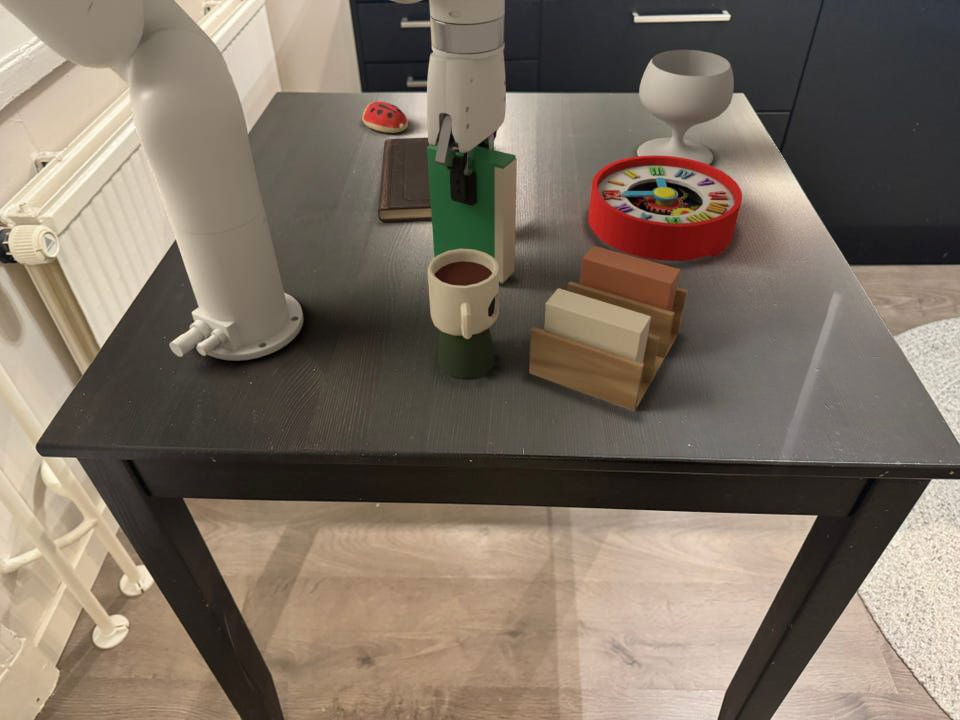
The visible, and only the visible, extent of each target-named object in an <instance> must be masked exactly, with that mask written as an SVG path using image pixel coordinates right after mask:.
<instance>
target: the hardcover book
mask: <svg viewBox="0 0 960 720" xmlns="http://www.w3.org/2000/svg"><path fill="white" fill-rule="evenodd" d="M428 146H430V144H429V142H428V137H408V138H407V137H405V138H404V137H403V138H387V139H386V140H385V141H384V144H383V154H382V164H381V166H382V167H381V176H380V184H379V185H380V187H379V197H378V210H377V216H378V220H379V221H380V222H382V223H399V222H401V223H402V222H422V221H423V222H425V221H432V215H431V200H430V185H429V170H428V155H427V147H428Z"/></svg>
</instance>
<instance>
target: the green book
mask: <svg viewBox="0 0 960 720" xmlns="http://www.w3.org/2000/svg"><path fill="white" fill-rule="evenodd" d="M437 147H438V145H437V146H431V145H430V146H428V147H427V155H428V170H429V185H430V200H431V215H432V220H431V227H432V228H431V229H432V243H433V259H434V258H435V257H436V256H437V255H440V254H442V253H444V252H447V251H450V250H456V249H473V250H478V251H481V252H484V253H487V254H488V255H490V256H492V257H493V258H494V259H495V260H496V261H497V263H498V265H499V285H501V286H503V285H504V284H506V282H507V281H508V280H509V278H511V276H512V275H513V274H514V272H515V271H516V268H515V267H516V226H517V225H516V223H517V222H516V220H517V219H516V218H517V216H516V215H517V172H518V171H517V170H518V169H517V167H518V166H517V164H518V158H517V156H516V154H513V153H508V152H503V151H500V150H495V149H494V150H491V149H487V148H483V147H478V146H475V147H474V148H473V170H472V172H474V173H476V200H477V202H476V204H475V205H473V206H471V205H467V204H463V203H460V202H456V201H453V200H452V199H451V193H450V171H447V168H446V166H444V165H440V164H436V163H435V157H436V152H437ZM456 156H457V157H460V158H461V159H462V160H463V161H464V154H463V153H459V152H456Z"/></svg>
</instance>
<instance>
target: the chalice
mask: <svg viewBox="0 0 960 720" xmlns="http://www.w3.org/2000/svg"><path fill="white" fill-rule="evenodd" d="M734 87H735V80H734V72H733V69H732V66H731V63H730V62H729V60H728V59H726V58H724V57H723V56H721V55H719V54H716V53H712V52H709V51H708V52H707V51H703V50H695V49H674V50H668V51H667V50H666V51H662V52H660V53H658V54H655V55H654V56H653V57H652V58H651V59H650V61H649V62H648V64H647V66H646V67H645V70H644V72H643V75H642V77H641V80H640V84H639V90H638V93H639V94H638V95H639V99H640V102H641V105H642V106H643V107H644V110H646V111H647V112H648V113H649V114H651V116H653V117H655V118H657V119H659V120H661V121H662V122H664V123H666V124H667V125H668V127H669V128H670V130H671V137H658V138H654V139H650V140H648V141H645V142H643V143H641V144H640V145H639V146H638V148H637V149H636V154H637V155H636V156H650V155H659V156H673V157H681V158H686V159H691V160H695V161H698V162H702V163H705V164H707V165H711V164H712V163H713V160H714V154H713V153H712V152H711V150H710V149H709V148H708V147H706V146H705V145H703V144H701V143H699V142H697V141H695V140H691V139H687V138H686V139H685V137H684V136H685V134H686V133H687V132H688V130H689V129H690V128H693V127H695V126H696V125H700V124H704V123H706V122H710V121H712V120H715V119H716V118H718V117H720V116H721V115H722V114H723V113H724V112H726V111H727V109H728V108H729V106H730V105H731V104H732V100H733V97H734Z"/></svg>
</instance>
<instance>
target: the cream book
mask: <svg viewBox="0 0 960 720" xmlns="http://www.w3.org/2000/svg"><path fill="white" fill-rule="evenodd" d="M544 309H545V310H544V327H543V330H545V331H548V332H551V333H554V334H557V335H560V336H563V337H566V338H569V339H572V340H575V341H578V342H581V343H584V344H587V345H590V346H593V347H596V348H599V349H602V350H605V351H608V352H611V353H614V354H617V355H620V356H623V357H626V358H629V359H632V360H635V361H638V362H641V363H643V360H644V354H645V349H646V343H647V338H648V332H649V326H650V321H651V316H648V315H645V314H642V313H638V312H635V311H632V310H628V309H625V308H622V307H619V306H615V305H612V304H609V303H605V302H602V301H599V300H596V299H592V298H589V297H586V296H582V295H579V294H576V293H573V292H569V291H567V290H566V289H562V288H560V287H559V288H557V289H556V290H555V291H554V292H553V294H552V295H551V296H550V297H549V299H548V300H547V301H546V303H545V308H544Z"/></svg>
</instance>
